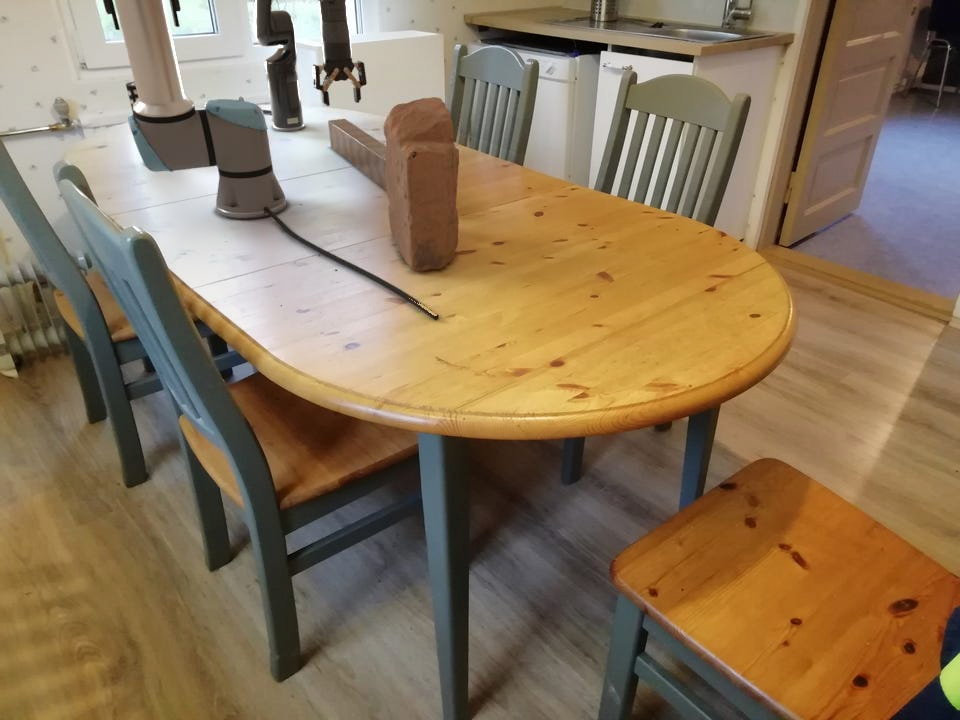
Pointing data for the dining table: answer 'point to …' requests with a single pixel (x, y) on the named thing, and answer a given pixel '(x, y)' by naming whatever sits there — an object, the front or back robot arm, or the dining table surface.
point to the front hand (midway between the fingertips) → (147, 28)
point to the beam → (359, 149)
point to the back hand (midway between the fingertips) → (342, 103)
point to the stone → (422, 182)
